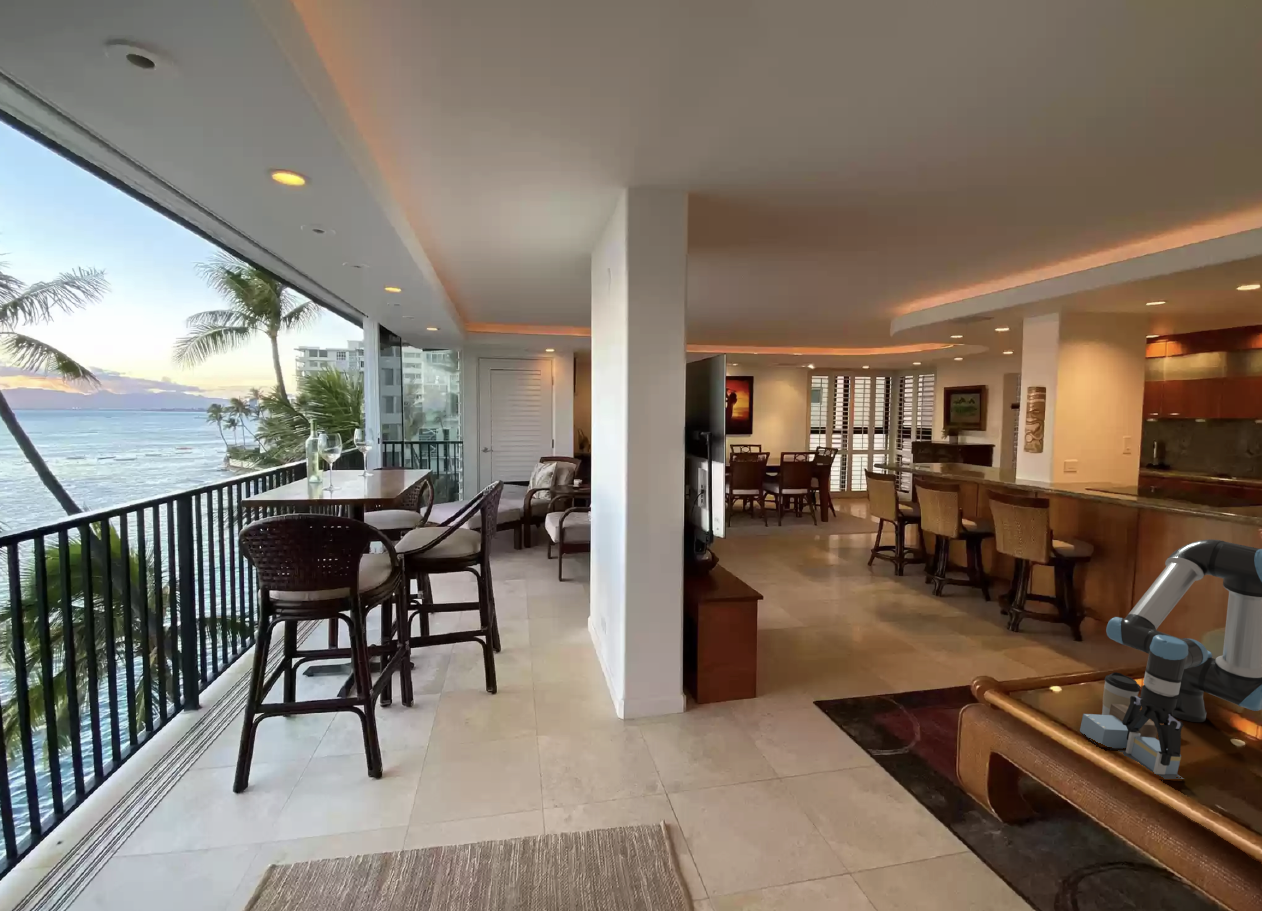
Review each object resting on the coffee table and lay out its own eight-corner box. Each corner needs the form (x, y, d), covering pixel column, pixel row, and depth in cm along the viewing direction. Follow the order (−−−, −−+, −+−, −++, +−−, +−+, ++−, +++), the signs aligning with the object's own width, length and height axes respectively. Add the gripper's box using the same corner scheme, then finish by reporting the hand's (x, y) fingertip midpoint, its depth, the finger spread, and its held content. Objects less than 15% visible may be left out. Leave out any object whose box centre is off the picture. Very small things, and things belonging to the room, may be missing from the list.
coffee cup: (1139, 729, 184) (1148, 686, 182) (1108, 724, 186) (1116, 682, 184) (1121, 714, 193) (1130, 673, 191) (1091, 709, 195) (1099, 668, 193)
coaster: (1145, 753, 171) (1145, 751, 171) (1184, 781, 160) (1184, 779, 159) (1106, 751, 171) (1107, 749, 171) (1143, 779, 159) (1144, 777, 159)
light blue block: (1150, 755, 169) (1154, 737, 169) (1177, 774, 161) (1181, 755, 161) (1130, 755, 169) (1135, 736, 168) (1157, 773, 161) (1161, 754, 160)
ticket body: (1122, 733, 181) (1125, 715, 181) (1145, 749, 173) (1149, 731, 173) (1079, 731, 181) (1083, 713, 180) (1101, 747, 173) (1104, 729, 172)
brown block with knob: (1120, 730, 183) (1127, 700, 182) (1152, 753, 172) (1159, 720, 171) (1105, 729, 183) (1112, 699, 181) (1137, 752, 172) (1143, 719, 170)
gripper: (1115, 670, 172) (1101, 739, 175) (1184, 710, 152) (1167, 788, 155) (1139, 672, 173) (1124, 741, 176) (1210, 712, 152) (1193, 789, 155)
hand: (1144, 762), depth 165 cm, fingers closed on light blue block, 8 cm apart
